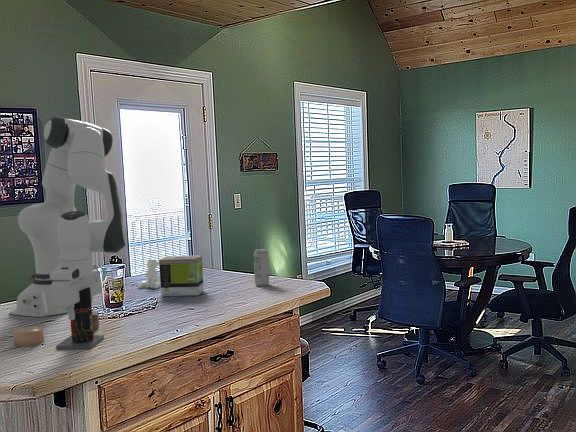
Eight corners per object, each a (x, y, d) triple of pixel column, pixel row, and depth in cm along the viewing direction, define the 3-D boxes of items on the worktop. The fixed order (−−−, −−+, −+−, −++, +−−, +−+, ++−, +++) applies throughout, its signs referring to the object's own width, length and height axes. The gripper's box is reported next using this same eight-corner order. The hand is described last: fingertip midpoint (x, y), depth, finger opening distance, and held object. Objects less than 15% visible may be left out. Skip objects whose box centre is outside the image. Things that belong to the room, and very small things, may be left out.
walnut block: (81, 331, 180) (80, 316, 180) (83, 327, 185) (82, 312, 185) (97, 330, 181) (96, 314, 181) (99, 326, 186) (98, 310, 186)
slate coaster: (56, 349, 163) (56, 345, 163) (71, 338, 173) (70, 335, 173) (91, 348, 162) (91, 345, 162) (104, 338, 172) (103, 334, 172)
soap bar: (40, 332, 167) (41, 346, 167) (45, 325, 174) (45, 338, 175) (10, 335, 165) (11, 349, 165) (16, 327, 172) (17, 341, 173)
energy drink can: (271, 285, 241) (270, 249, 239) (257, 287, 238) (256, 251, 237) (266, 283, 246) (265, 248, 245) (252, 284, 244) (251, 249, 243)
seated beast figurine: (136, 288, 244) (135, 260, 243) (146, 284, 252) (145, 257, 251) (157, 289, 241) (156, 260, 240) (166, 284, 250) (165, 257, 249)
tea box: (204, 290, 235) (202, 254, 234) (197, 296, 225) (196, 258, 224) (168, 291, 237) (166, 255, 235) (160, 296, 227) (158, 259, 225)
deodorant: (93, 341, 166) (89, 290, 164) (71, 344, 164) (67, 292, 163) (94, 336, 171) (90, 286, 170) (72, 338, 170) (69, 287, 168)
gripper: (86, 262, 176) (89, 306, 178) (45, 275, 157) (49, 325, 158) (105, 262, 175) (108, 307, 176) (66, 275, 155) (69, 325, 156)
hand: (80, 315), depth 167 cm, fingers open, 6 cm apart
